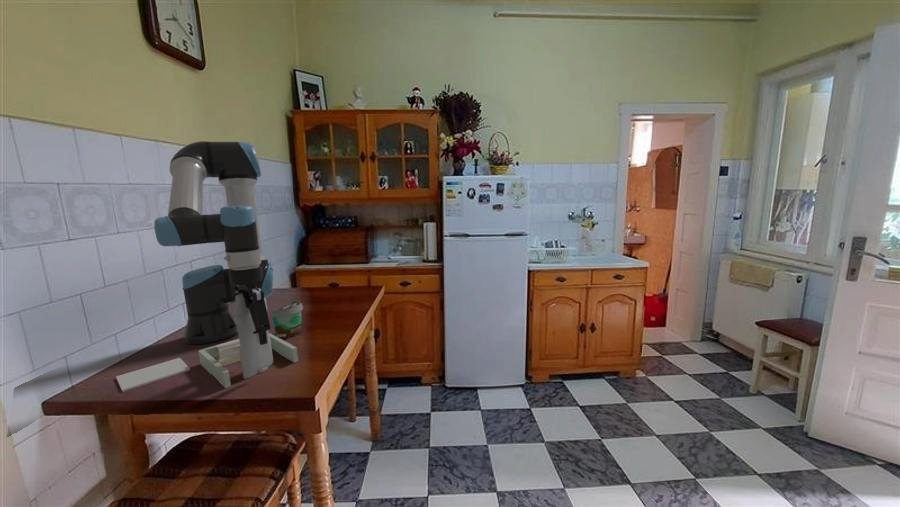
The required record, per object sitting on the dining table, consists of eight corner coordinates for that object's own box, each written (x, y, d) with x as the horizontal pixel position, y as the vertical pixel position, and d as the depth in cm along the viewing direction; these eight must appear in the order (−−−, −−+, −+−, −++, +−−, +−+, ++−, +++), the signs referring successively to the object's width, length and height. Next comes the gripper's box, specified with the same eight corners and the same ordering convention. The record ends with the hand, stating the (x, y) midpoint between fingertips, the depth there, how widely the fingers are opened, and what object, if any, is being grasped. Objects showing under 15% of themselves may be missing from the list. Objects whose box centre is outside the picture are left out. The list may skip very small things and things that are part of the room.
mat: (116, 378, 98) (115, 376, 98) (180, 359, 108) (179, 357, 108) (122, 392, 90) (122, 390, 90) (190, 370, 100) (189, 368, 100)
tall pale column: (249, 380, 93) (237, 295, 90) (236, 378, 94) (224, 295, 91) (279, 361, 103) (270, 284, 100) (267, 360, 104) (257, 284, 101)
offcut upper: (217, 353, 106) (216, 345, 105) (259, 342, 113) (258, 334, 112) (220, 359, 102) (219, 350, 102) (263, 347, 109) (262, 339, 109)
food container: (291, 341, 117) (287, 311, 116) (274, 341, 119) (270, 311, 117) (312, 327, 129) (309, 300, 128) (297, 327, 130) (293, 299, 129)
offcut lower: (214, 363, 105) (213, 354, 105) (259, 349, 114) (257, 341, 114) (220, 369, 101) (219, 360, 101) (266, 354, 110) (265, 346, 109)
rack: (200, 364, 104) (198, 350, 103) (267, 342, 117) (265, 330, 117) (225, 388, 90) (223, 372, 89) (298, 361, 103) (296, 347, 102)
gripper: (214, 265, 99) (226, 345, 102) (244, 274, 84) (257, 367, 88) (245, 260, 104) (255, 336, 108) (278, 268, 90) (289, 356, 93)
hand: (256, 350), depth 98 cm, fingers open, 9 cm apart
